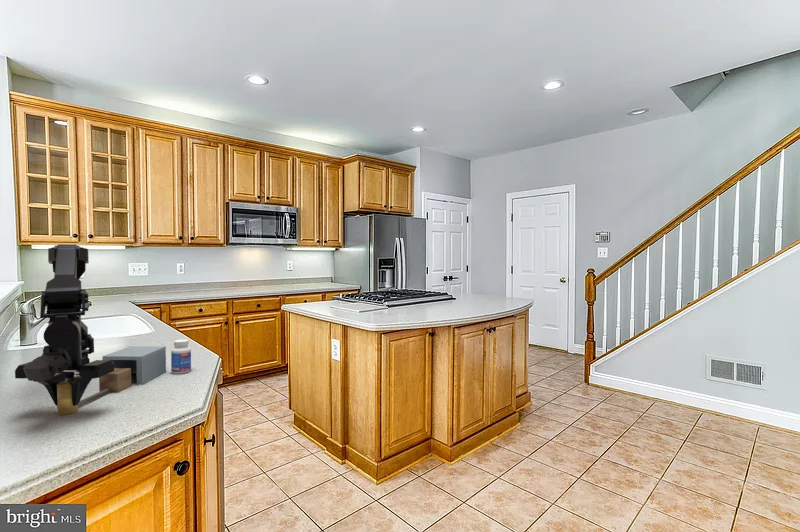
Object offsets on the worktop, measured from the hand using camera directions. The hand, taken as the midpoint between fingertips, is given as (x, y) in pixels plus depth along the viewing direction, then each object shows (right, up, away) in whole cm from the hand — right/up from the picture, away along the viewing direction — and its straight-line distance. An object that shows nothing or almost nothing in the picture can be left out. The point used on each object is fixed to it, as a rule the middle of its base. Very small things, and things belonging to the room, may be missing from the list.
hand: (67, 405), depth 92 cm
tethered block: (0, -1, +8) cm, 8 cm away
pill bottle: (+9, -1, +31) cm, 33 cm away
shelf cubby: (0, -1, +24) cm, 24 cm away
